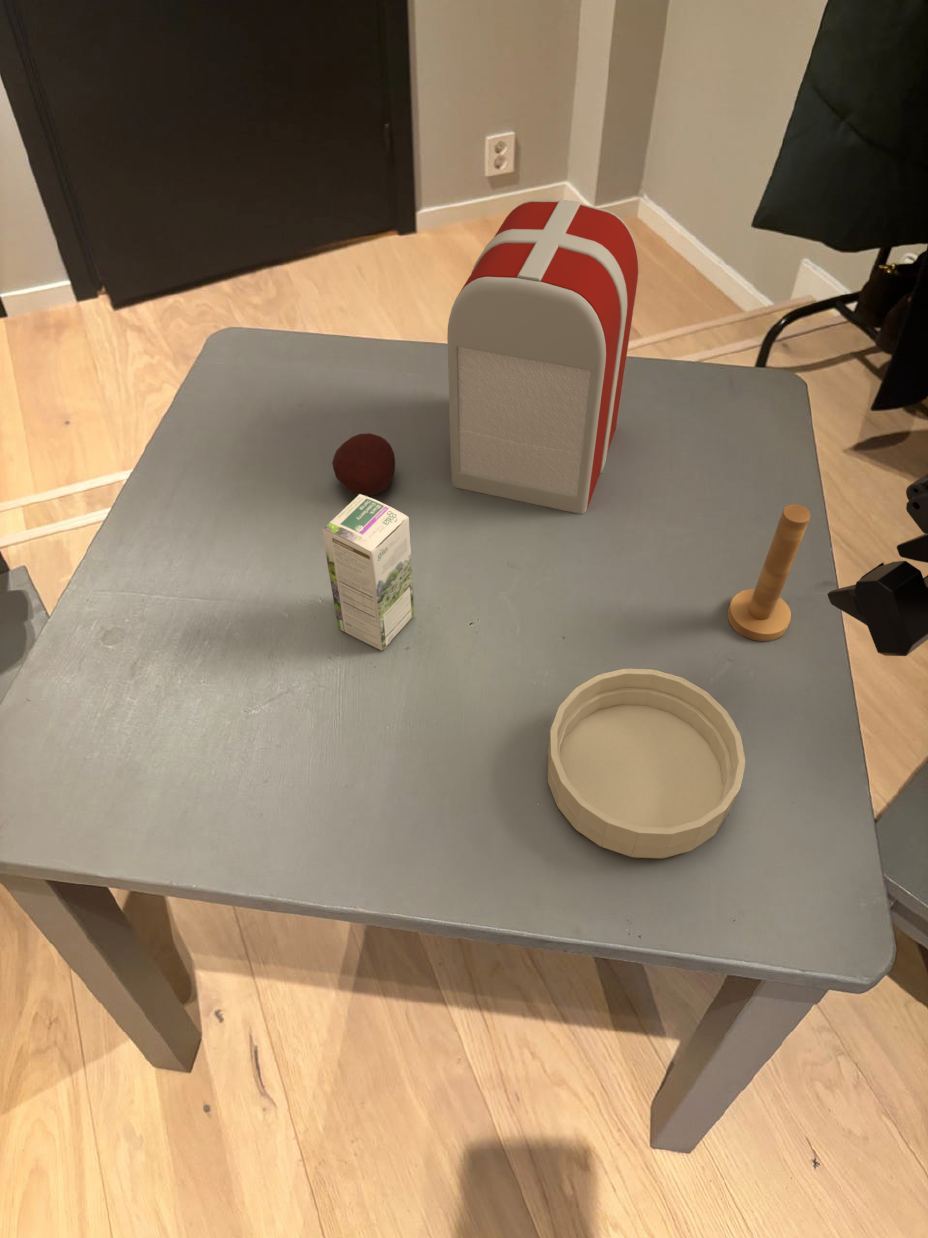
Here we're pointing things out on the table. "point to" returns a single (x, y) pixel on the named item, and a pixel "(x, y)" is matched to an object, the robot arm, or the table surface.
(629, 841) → the bowl
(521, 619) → the table surface
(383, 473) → the potato
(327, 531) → the syrup box
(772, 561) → the tan wooden tall post
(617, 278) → the red white rounded box
